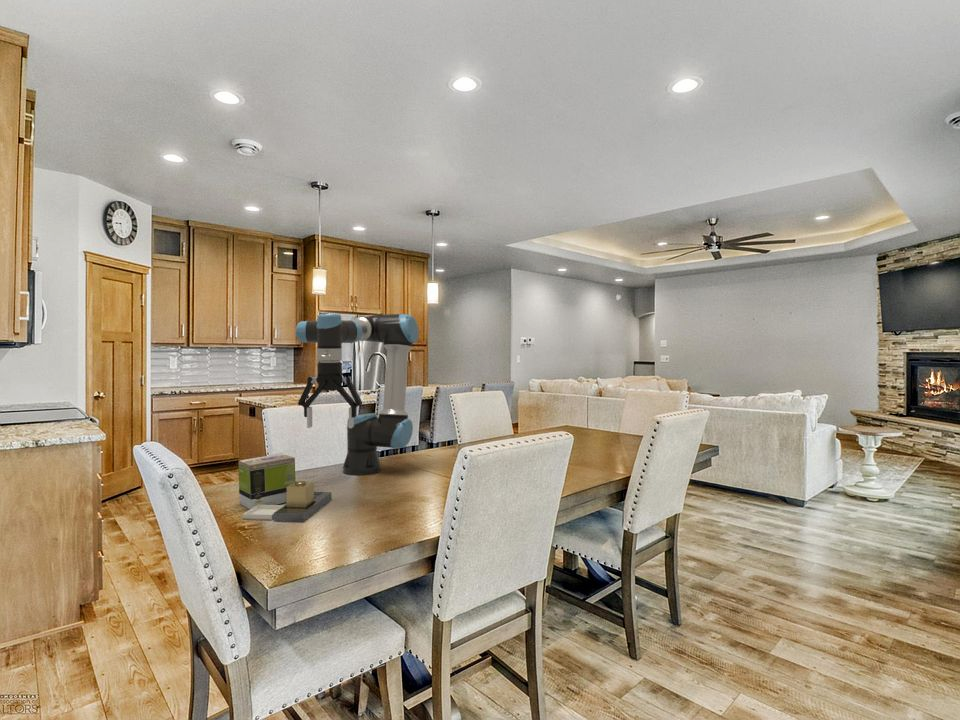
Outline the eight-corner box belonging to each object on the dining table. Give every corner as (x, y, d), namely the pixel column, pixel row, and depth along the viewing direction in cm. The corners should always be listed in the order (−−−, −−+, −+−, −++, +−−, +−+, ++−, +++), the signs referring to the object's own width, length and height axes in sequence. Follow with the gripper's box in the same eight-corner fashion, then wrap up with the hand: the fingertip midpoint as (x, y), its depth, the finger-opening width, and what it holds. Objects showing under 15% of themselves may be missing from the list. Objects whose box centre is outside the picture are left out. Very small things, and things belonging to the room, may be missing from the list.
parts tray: (258, 509, 164) (258, 504, 164) (285, 510, 163) (285, 505, 163) (242, 519, 155) (242, 514, 155) (271, 520, 154) (271, 515, 154)
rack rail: (305, 498, 175) (305, 491, 175) (331, 499, 175) (331, 491, 175) (274, 521, 154) (274, 512, 153) (303, 522, 153) (303, 513, 153)
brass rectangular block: (295, 509, 164) (295, 479, 164) (313, 510, 164) (313, 479, 164) (286, 515, 158) (286, 484, 158) (305, 516, 158) (305, 485, 158)
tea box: (283, 494, 180) (283, 452, 180) (296, 501, 173) (296, 457, 172) (238, 504, 170) (237, 459, 169) (250, 511, 162) (249, 464, 162)
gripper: (286, 362, 164) (287, 429, 165) (365, 362, 163) (365, 429, 164) (296, 361, 171) (297, 425, 172) (371, 361, 170) (371, 425, 171)
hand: (330, 427), depth 168 cm, fingers open, 13 cm apart
